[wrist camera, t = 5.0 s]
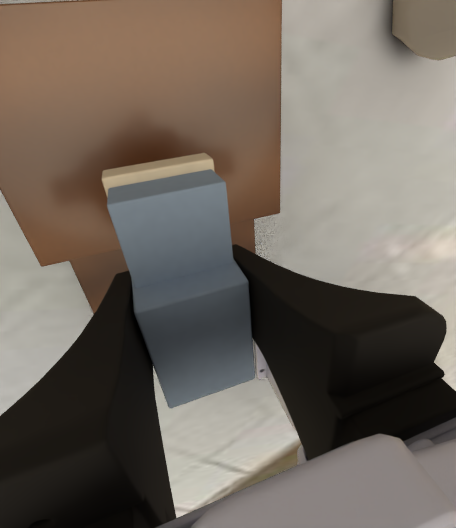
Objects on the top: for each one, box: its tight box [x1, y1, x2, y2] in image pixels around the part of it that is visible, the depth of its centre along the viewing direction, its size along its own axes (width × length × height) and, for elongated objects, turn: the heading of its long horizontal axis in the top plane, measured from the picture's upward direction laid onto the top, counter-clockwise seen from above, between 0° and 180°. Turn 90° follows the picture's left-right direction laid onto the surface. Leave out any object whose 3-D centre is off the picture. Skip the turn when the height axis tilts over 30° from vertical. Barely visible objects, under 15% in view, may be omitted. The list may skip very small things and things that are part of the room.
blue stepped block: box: [102, 153, 255, 408], centre depth 10 cm, size 8×3×4 cm, turn 6°
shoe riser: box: [0, 0, 282, 313], centre depth 17 cm, size 18×12×6 cm, turn 5°
